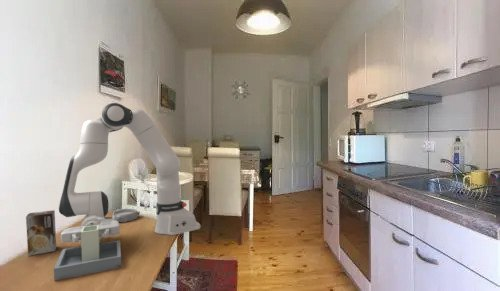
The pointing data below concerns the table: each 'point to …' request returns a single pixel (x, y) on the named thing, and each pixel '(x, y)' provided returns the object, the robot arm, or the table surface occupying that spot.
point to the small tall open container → (90, 243)
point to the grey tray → (74, 266)
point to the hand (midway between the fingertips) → (90, 238)
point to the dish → (125, 215)
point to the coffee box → (41, 232)
